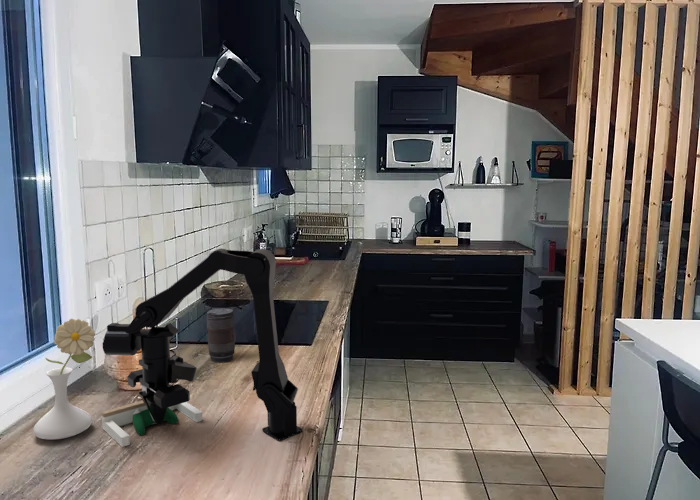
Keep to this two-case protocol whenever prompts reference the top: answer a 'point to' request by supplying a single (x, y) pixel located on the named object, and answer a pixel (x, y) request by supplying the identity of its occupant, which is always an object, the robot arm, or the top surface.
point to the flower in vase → (64, 415)
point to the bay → (125, 416)
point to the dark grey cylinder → (221, 334)
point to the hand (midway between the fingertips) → (159, 423)
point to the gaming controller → (150, 419)
